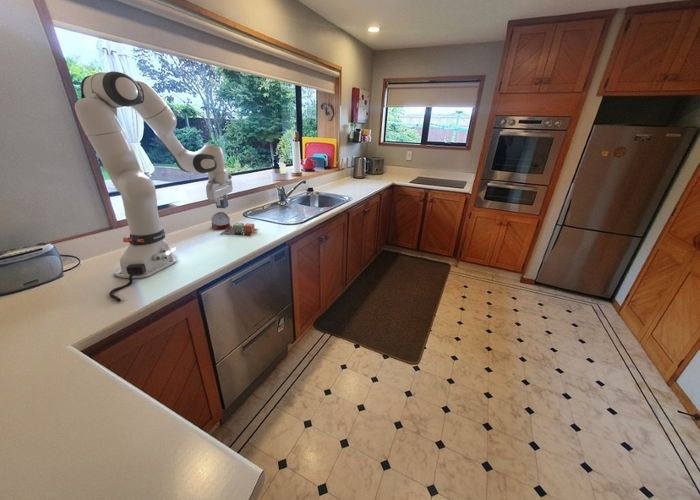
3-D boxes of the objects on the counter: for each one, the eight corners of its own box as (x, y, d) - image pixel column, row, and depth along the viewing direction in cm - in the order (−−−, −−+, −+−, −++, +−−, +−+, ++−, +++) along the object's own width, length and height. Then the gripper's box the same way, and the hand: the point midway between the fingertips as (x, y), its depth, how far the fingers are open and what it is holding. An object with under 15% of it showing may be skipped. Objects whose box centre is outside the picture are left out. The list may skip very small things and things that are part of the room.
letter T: (224, 208, 148) (223, 200, 146) (216, 208, 148) (215, 199, 146) (228, 206, 152) (227, 198, 150) (220, 205, 152) (219, 197, 150)
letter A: (241, 233, 156) (240, 225, 155) (233, 232, 157) (232, 225, 155) (244, 230, 160) (243, 223, 159) (237, 230, 161) (236, 222, 159)
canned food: (230, 232, 171) (236, 219, 167) (221, 236, 161) (227, 222, 158) (214, 222, 170) (220, 209, 167) (204, 226, 161) (210, 211, 157)
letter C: (252, 233, 156) (251, 226, 154) (244, 233, 156) (243, 225, 154) (255, 231, 160) (254, 223, 158) (247, 230, 160) (246, 223, 158)
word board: (249, 237, 153) (249, 236, 152) (219, 235, 154) (219, 234, 154) (258, 229, 164) (257, 228, 163) (229, 228, 165) (229, 227, 164)
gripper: (213, 181, 134) (217, 209, 140) (233, 174, 152) (236, 199, 158) (200, 181, 134) (205, 209, 140) (221, 174, 153) (225, 199, 159)
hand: (222, 204), depth 149 cm, fingers closed on letter T, 4 cm apart
